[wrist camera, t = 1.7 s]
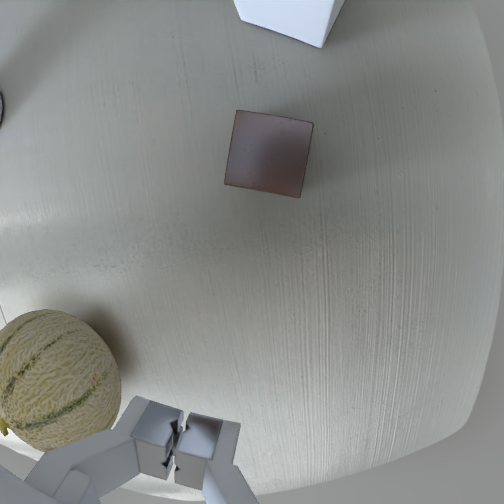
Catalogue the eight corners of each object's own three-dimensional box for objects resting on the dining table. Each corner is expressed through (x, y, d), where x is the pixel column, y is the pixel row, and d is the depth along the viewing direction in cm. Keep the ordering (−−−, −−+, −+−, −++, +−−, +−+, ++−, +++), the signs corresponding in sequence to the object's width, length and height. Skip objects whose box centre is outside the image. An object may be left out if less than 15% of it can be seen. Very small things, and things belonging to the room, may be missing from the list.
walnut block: (246, 119, 24) (236, 109, 19) (309, 130, 24) (314, 122, 19) (235, 180, 25) (223, 184, 21) (298, 191, 25) (300, 198, 20)
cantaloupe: (164, 345, 31) (94, 453, 16) (119, 414, 35) (66, 499, 20) (54, 260, 30) (-50, 318, 15) (31, 345, 34) (-40, 407, 19)
